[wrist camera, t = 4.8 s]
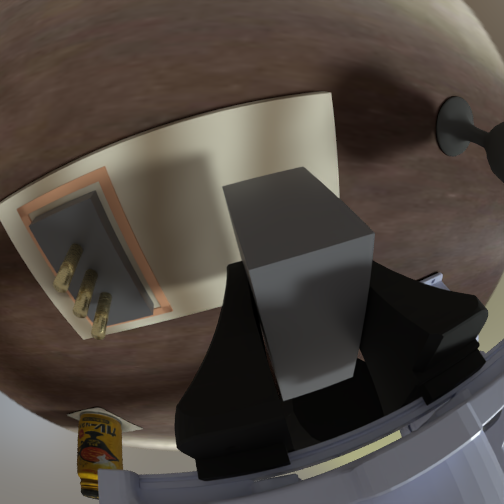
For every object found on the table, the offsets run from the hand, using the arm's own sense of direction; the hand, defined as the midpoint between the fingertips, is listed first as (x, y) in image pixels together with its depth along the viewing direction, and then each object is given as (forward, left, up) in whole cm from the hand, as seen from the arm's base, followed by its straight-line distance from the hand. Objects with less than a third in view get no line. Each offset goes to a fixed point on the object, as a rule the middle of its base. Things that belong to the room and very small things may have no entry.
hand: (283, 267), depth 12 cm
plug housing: (0, 0, -1) cm, 1 cm away
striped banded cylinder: (+2, +33, -6) cm, 34 cm away
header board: (+5, 0, -6) cm, 8 cm away
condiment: (+26, +24, -6) cm, 36 cm away
